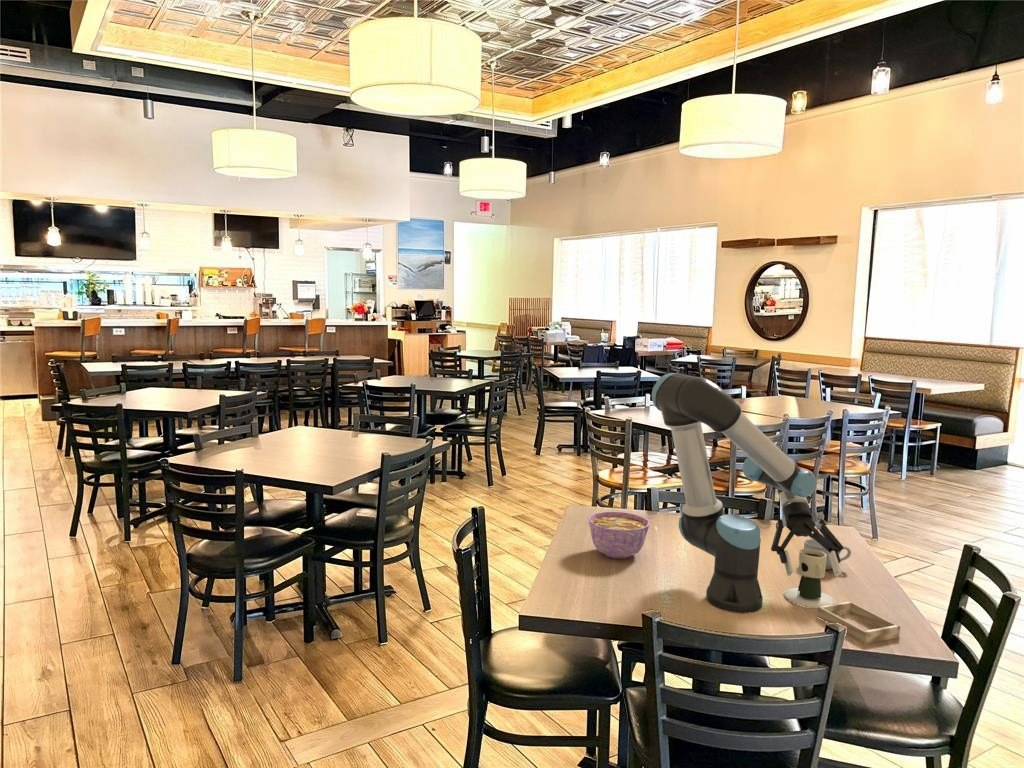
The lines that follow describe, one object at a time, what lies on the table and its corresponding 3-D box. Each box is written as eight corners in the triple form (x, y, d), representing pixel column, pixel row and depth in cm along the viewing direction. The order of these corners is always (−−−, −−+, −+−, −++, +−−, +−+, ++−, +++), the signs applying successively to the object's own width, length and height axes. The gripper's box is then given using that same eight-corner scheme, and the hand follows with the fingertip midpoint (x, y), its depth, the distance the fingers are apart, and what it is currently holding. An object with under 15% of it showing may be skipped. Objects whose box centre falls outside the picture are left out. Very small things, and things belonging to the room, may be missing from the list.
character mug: (789, 588, 206) (792, 545, 205) (813, 589, 207) (817, 546, 205) (804, 604, 196) (808, 559, 194) (830, 605, 196) (834, 560, 194)
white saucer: (807, 611, 193) (807, 609, 193) (774, 592, 205) (774, 590, 205) (844, 605, 197) (844, 603, 197) (809, 587, 209) (809, 585, 209)
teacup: (800, 568, 225) (802, 544, 224) (803, 558, 234) (805, 534, 233) (848, 577, 218) (850, 552, 217) (850, 566, 228) (852, 542, 227)
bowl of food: (660, 561, 228) (661, 526, 226) (605, 568, 220) (607, 532, 219) (627, 541, 246) (629, 509, 245) (576, 547, 239) (577, 514, 237)
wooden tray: (864, 644, 175) (865, 632, 174) (817, 617, 189) (817, 606, 189) (899, 637, 179) (900, 626, 178) (850, 611, 193) (850, 601, 193)
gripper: (831, 513, 214) (852, 580, 201) (750, 511, 214) (766, 578, 200) (841, 501, 209) (863, 569, 195) (758, 499, 208) (774, 568, 195)
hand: (814, 574), depth 198 cm, fingers open, 13 cm apart
